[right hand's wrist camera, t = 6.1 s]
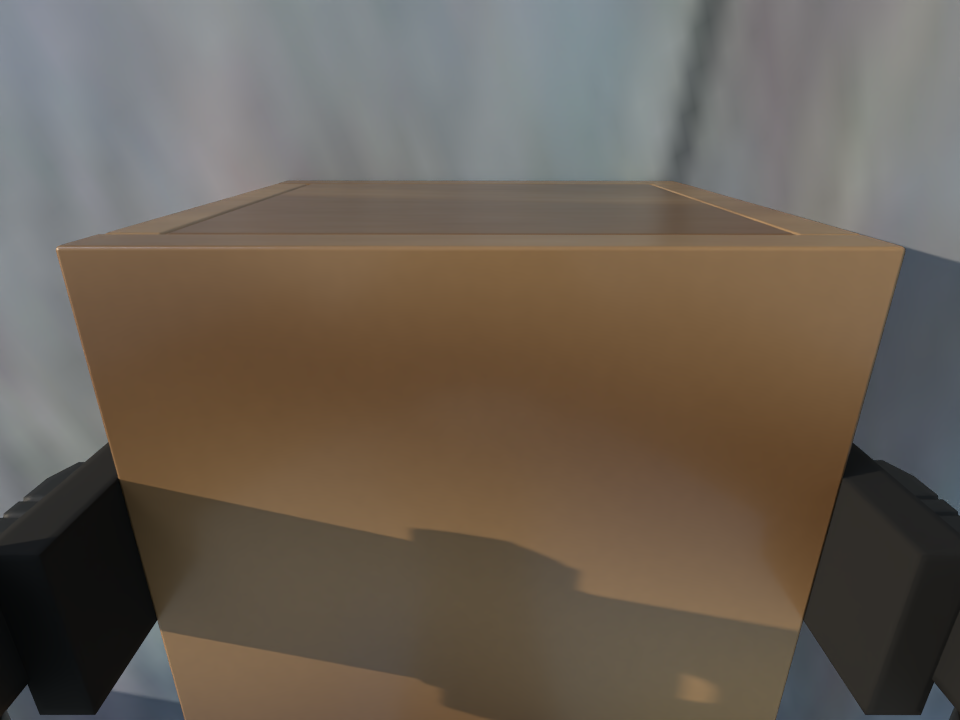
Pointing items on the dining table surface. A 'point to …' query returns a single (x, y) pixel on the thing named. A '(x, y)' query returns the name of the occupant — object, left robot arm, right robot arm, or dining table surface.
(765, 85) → the dining table surface
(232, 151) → the dining table surface
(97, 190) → the dining table surface
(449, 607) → the cabinet
